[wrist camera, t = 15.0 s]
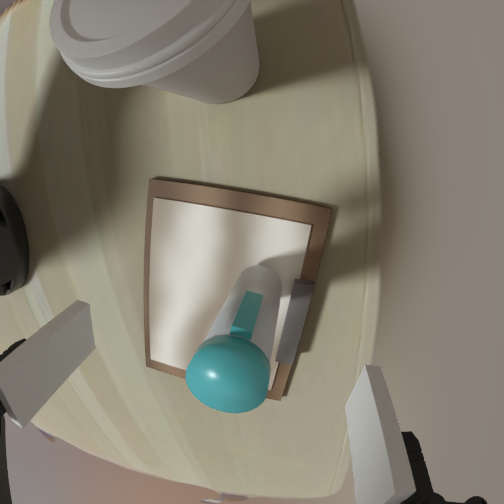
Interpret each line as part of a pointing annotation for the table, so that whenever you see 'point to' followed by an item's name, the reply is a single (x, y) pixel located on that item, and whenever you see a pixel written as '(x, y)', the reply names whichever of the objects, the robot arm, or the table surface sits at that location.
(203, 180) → the table surface
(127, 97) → the table surface
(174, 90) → the coffee cup
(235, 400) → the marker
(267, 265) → the clipboard
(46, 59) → the table surface
